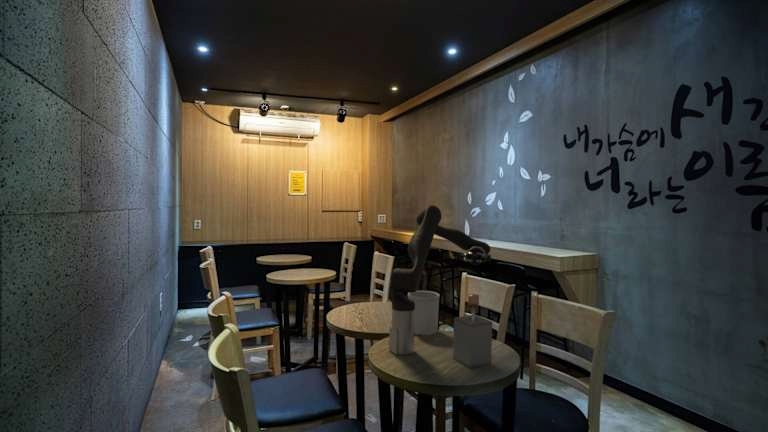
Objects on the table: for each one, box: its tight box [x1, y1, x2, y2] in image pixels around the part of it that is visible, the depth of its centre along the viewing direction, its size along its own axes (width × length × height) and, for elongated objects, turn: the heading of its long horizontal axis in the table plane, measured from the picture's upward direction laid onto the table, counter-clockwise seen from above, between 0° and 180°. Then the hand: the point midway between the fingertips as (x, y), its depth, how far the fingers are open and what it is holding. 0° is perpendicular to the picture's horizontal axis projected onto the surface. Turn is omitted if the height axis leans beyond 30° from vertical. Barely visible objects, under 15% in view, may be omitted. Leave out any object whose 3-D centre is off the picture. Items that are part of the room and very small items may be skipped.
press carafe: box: [452, 314, 493, 369], centre depth 156 cm, size 10×10×16 cm
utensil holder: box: [407, 290, 441, 336], centre depth 193 cm, size 15×15×18 cm
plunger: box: [467, 293, 480, 321], centre depth 156 cm, size 8×8×23 cm
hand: (471, 258), depth 172 cm, fingers open, 8 cm apart
